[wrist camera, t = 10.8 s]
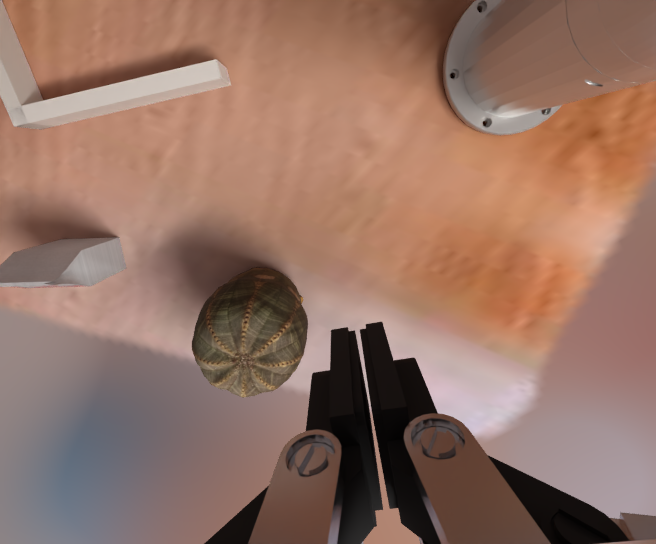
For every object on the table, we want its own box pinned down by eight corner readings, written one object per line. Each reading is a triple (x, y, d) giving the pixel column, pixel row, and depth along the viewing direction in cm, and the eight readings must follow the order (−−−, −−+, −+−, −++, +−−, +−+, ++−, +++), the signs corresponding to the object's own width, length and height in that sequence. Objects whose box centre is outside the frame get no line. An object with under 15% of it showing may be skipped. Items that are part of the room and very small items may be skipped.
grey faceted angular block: (61, 239, 38) (-30, 264, 28) (119, 237, 38) (46, 262, 28) (70, 269, 39) (-15, 304, 30) (126, 268, 39) (59, 302, 29)
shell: (224, 344, 42) (182, 411, 30) (218, 260, 38) (168, 301, 27) (310, 347, 42) (301, 417, 30) (312, 263, 38) (302, 306, 27)
